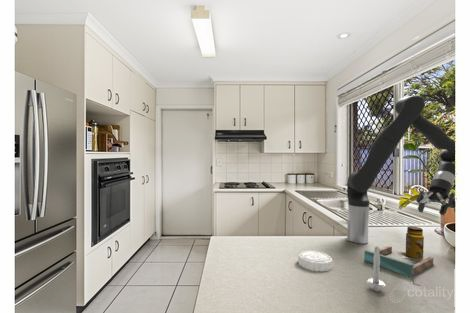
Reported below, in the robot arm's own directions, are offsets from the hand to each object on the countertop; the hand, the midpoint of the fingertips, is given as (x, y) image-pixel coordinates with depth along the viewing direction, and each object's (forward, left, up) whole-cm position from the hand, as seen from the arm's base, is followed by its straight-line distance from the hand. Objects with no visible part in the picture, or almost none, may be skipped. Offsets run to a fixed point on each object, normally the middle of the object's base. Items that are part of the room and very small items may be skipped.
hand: (430, 212), depth 115 cm
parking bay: (-15, -22, -17) cm, 31 cm away
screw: (-25, -50, -17) cm, 58 cm away
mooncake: (-44, -39, -17) cm, 61 cm away
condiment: (-9, -11, -17) cm, 22 cm away
